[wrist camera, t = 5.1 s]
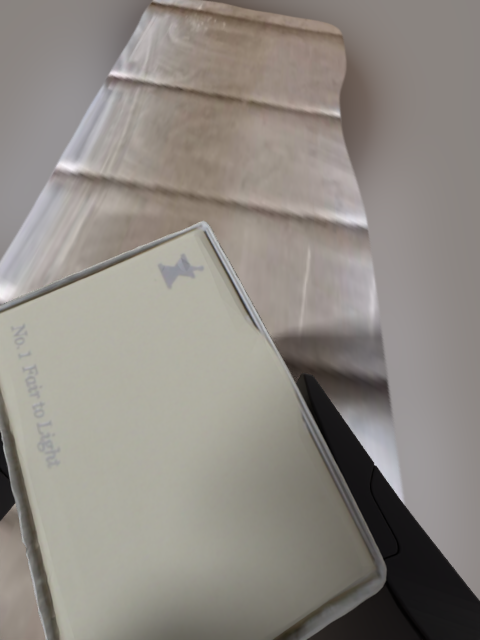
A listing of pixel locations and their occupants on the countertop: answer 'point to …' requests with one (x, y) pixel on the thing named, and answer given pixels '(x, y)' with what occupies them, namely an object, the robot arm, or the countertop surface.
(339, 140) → the countertop surface
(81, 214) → the countertop surface
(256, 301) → the countertop surface
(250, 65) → the countertop surface
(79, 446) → the skincare box
